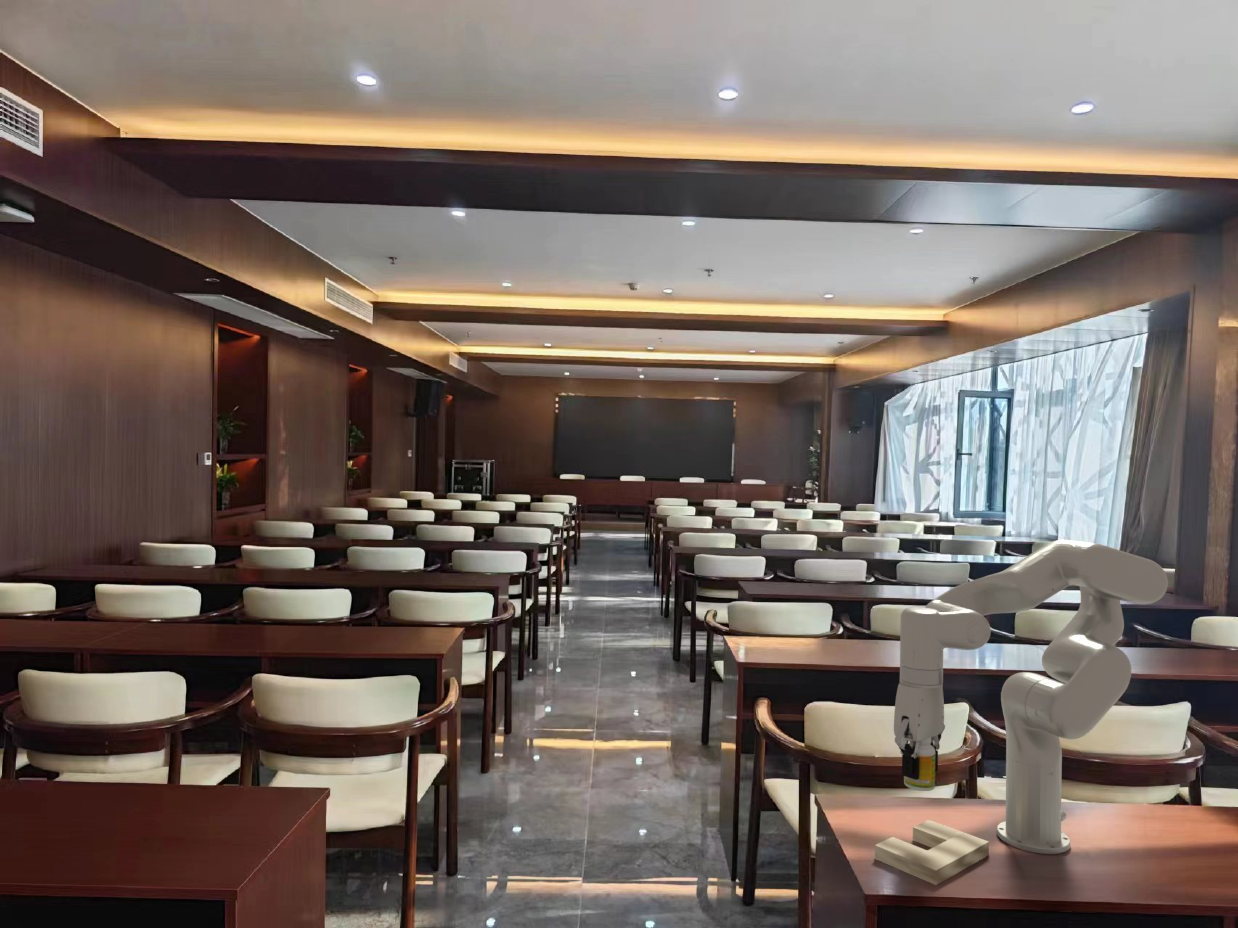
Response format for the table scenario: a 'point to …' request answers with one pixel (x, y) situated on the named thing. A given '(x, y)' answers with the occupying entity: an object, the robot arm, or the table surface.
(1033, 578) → the robot arm
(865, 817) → the table surface
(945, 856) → the notched board
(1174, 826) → the table surface
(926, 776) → the supplement bottle
